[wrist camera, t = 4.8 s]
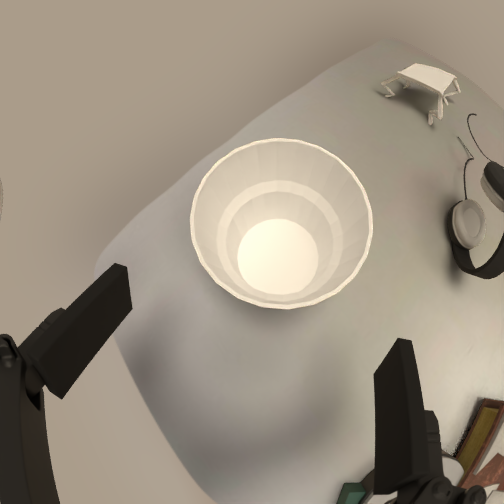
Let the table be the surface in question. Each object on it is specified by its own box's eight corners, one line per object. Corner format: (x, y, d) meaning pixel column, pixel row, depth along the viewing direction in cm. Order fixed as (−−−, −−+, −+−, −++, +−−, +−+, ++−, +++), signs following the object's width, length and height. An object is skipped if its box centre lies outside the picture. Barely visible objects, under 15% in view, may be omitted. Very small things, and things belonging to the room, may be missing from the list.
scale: (321, 539, 17) (325, 556, 14) (355, 449, 20) (364, 462, 17) (428, 525, 16) (439, 537, 13) (465, 440, 19) (481, 447, 16)
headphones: (459, 155, 30) (476, 297, 22) (432, 144, 31) (443, 287, 22) (491, 102, 21) (544, 252, 13) (462, 86, 22) (512, 234, 13)
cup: (355, 285, 24) (403, 256, 15) (248, 337, 24) (234, 341, 14) (302, 188, 27) (316, 119, 17) (202, 232, 26) (168, 178, 17)
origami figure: (418, 138, 28) (435, 112, 23) (373, 90, 30) (383, 62, 25) (466, 116, 29) (481, 94, 24) (427, 75, 31) (437, 52, 26)
